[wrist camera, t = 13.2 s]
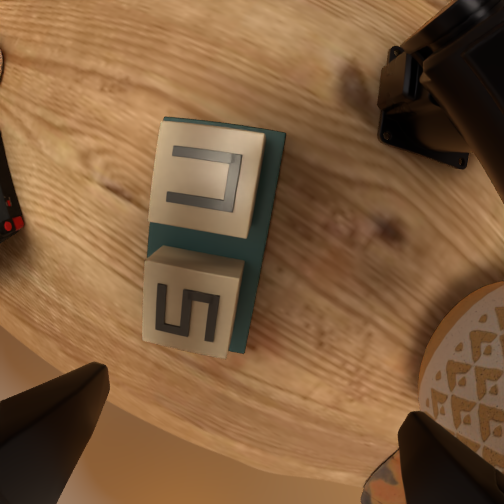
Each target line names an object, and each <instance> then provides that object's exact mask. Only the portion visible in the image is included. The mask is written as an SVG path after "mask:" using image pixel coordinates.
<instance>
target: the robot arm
mask: <svg viewBox="0 0 504 504" xmlns="http://www.w3.org/2000/svg"><path fill="white" fill-rule="evenodd" d="M394 51H396V52H397V53H398V54H399V56H398V57H397V56H396V55H395V54H394ZM377 105H378V107H379V109H380V110H381V115H380V121H379V128H378V139H379V141H380V142H381V143H383V144H385V145H389V146H392V147H395V148H398V149H402V150H405V151H408V152H411V153H414V154H417V155H420V156H423V157H426V158H429V159H432V160H435V161H437V162H440V163H443V164H446V165H448V166H451V167H454V168H456V169H462V170H463V169H465V168H466V167H467V163H468V157H469V153H474V154H475V156H476V157H477V159H478V160H479V162H480V163H481V165H482V167H483V168H484V170H485V172H486V173H487V175H488V177H489V178H490V180H491V182H492V184H493V185H494V187H495V189H496V191H497V192H498V194H499V196H500V198H501V200H502V202H503V204H504V0H453V1H452V2H450V3H449V4H448V5H447V6H445V7H444V8H443V9H442V10H441V11H439V12H438V13H437V14H436V15H435V16H434V17H432V18H431V19H430V20H429V21H428V22H426V23H425V24H424V25H423V26H422V27H421V28H420V29H418V30H417V31H416V32H415V33H414V34H413V35H411V36H410V37H409V38H408V39H407V40H406V41H405V42H403V43H402V44H401V45H400V47H399V46H393V47H392V48H391V49H389V51H388V58H387V65H386V66H385V67H384V68H382V72H381V80H380V88H379V96H378V103H377ZM384 132H387V133H388V134H389V139H388V140H386V139H385V138H384V135H383V134H384ZM459 159H461V165H460V164H459ZM109 390H110V383H109V375H108V368H107V366H106V365H104V364H101V363H98V362H91V363H89V364H87V365H85V366H82V367H80V368H78V369H75V370H73V371H71V372H69V373H66V374H64V375H62V376H59V377H57V378H55V379H52V380H50V381H48V382H45V383H43V384H41V385H38V386H36V387H34V388H31V389H29V390H26V391H24V392H22V393H19V394H17V395H14V396H12V397H9V398H7V399H5V400H2V401H0V504H56V503H57V501H58V499H59V497H60V495H61V493H62V491H63V489H64V487H65V485H66V483H67V481H68V479H69V478H70V476H71V474H72V472H73V470H74V468H75V466H76V464H77V462H78V460H79V458H80V456H81V454H82V452H83V451H84V449H85V447H86V445H87V443H88V441H89V439H90V438H91V436H92V434H93V431H94V429H95V427H96V424H97V421H98V419H99V416H100V414H101V411H102V408H103V406H104V404H105V401H106V399H107V396H108V394H109ZM398 443H399V453H400V465H401V475H402V481H403V487H404V492H405V498H406V504H504V474H503V473H502V472H500V471H499V470H498V469H495V467H494V466H492V465H491V464H490V463H488V462H487V461H486V460H485V459H483V458H482V457H481V456H479V455H478V454H477V453H475V452H474V451H473V450H472V449H470V448H469V447H468V446H466V445H465V444H464V443H463V442H461V441H460V440H459V439H457V438H456V437H455V436H454V435H452V434H451V433H450V432H448V431H447V430H446V429H445V428H443V427H442V426H441V425H440V424H438V423H437V422H436V421H434V420H433V419H432V418H431V417H429V416H428V415H427V414H426V413H424V412H422V411H412V412H410V413H409V414H408V416H407V417H406V419H405V421H404V422H403V424H402V425H401V427H400V429H399V431H398Z"/></svg>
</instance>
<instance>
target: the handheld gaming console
mask: <svg viewBox="0 0 504 504" xmlns="http://www.w3.org/2000/svg"><path fill="white" fill-rule="evenodd" d="M21 215H22V214H21V211H20V208H19V205H18V201H17V198H16V195H15V191H14V188H13V185H12V181H11V177H10V174H9V170H8V166H7V162H6V158H5V153H4V149H3V144H2V139H1V135H0V243H2V242H3V241H5V240H6V239H8V238H9V237H11V236H12V235H14V234H15V233H17V232H18V231H19V229H21V228H22V227H23V226H24V223H23V220H22V217H21ZM19 216H20V217H19Z"/></svg>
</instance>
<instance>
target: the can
mask: <svg viewBox="0 0 504 504" xmlns="http://www.w3.org/2000/svg"><path fill="white" fill-rule="evenodd" d="M2 69H3V56H2V53H1V50H0V78H1V74H2Z"/></svg>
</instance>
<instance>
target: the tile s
mask: <svg viewBox="0 0 504 504" xmlns="http://www.w3.org/2000/svg"><path fill="white" fill-rule="evenodd" d="M244 263H245V261H244V260H239V259H234V258H228V257H223V256H217V255H212V254H207V253H201V252H196V251H191V250H185V249H180V248H175V247H169V246H164V245H163V246H162V247H160V248H159V249H158V250H157V251H156V252H154V253H153V254H152V255H151V256H150V257H148V258H147V259H146V260H145V265H144V285H143V322H142V340H143V341H146V342H150V343H154V344H158V345H162V346H166V347H170V348H175V349H179V350H183V351H188V352H192V353H197V354H201V355H206V356H211V357H216V358H221V359H226V358H227V355H228V350H229V346H230V342H231V337H232V333H233V327H234V321H235V316H236V310H237V304H238V298H239V292H240V287H241V281H242V275H243V269H244Z"/></svg>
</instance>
